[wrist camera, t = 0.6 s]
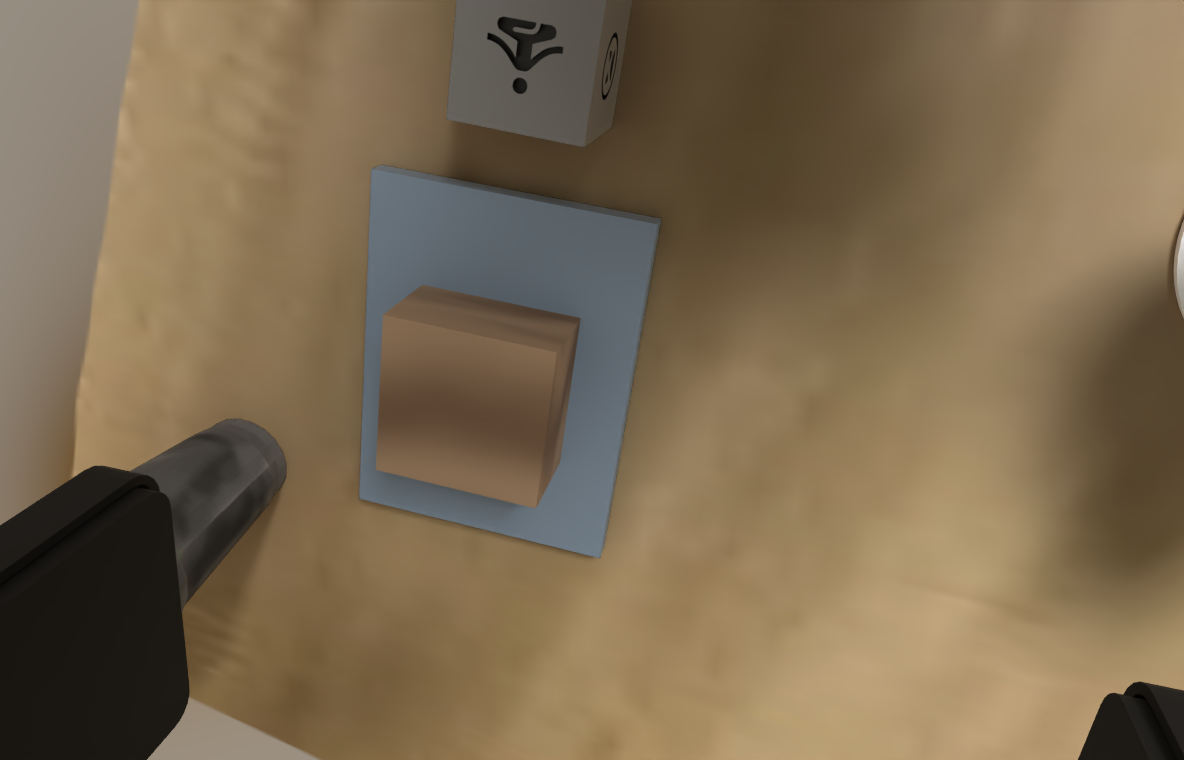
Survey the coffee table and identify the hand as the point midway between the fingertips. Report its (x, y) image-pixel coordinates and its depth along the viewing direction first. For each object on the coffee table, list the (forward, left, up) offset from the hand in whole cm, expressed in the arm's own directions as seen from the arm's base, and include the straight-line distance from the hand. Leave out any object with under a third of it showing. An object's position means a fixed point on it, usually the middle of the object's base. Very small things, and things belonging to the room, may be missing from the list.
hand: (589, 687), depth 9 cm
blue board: (+11, -9, -29) cm, 32 cm away
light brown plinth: (+11, -9, -28) cm, 31 cm away
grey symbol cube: (-3, -8, -29) cm, 31 cm away
